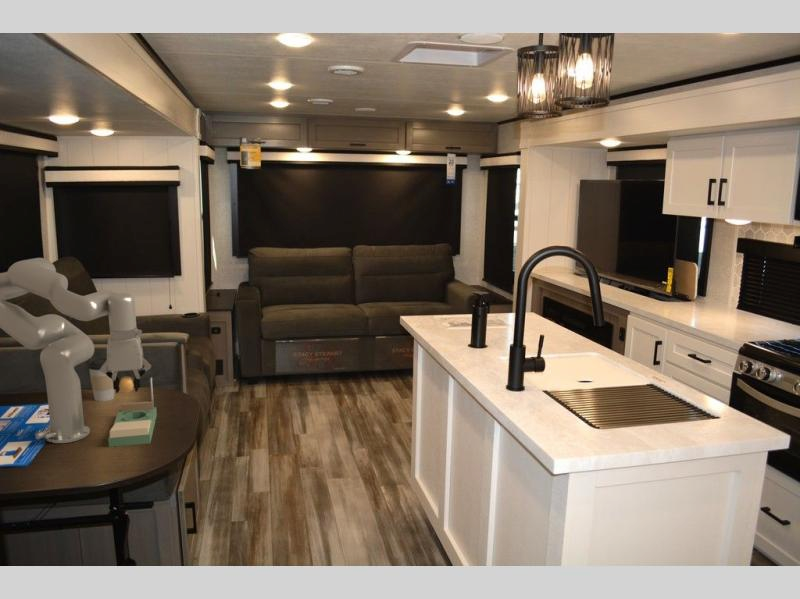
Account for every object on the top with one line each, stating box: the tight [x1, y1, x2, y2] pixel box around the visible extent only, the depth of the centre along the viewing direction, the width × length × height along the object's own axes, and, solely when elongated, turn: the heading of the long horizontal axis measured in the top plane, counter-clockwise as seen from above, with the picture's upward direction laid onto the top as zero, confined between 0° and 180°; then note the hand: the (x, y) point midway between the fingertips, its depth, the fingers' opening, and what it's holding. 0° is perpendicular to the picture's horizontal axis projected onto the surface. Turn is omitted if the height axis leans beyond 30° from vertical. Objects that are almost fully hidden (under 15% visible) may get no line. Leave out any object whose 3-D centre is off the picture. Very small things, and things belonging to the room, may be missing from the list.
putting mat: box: [107, 376, 158, 448], centre depth 211 cm, size 25×12×14 cm, turn 16°
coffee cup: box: [88, 357, 115, 402], centre depth 238 cm, size 9×9×15 cm
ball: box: [118, 375, 135, 394], centre depth 199 cm, size 5×5×5 cm
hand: (127, 390), depth 199 cm, fingers closed on ball, 4 cm apart
